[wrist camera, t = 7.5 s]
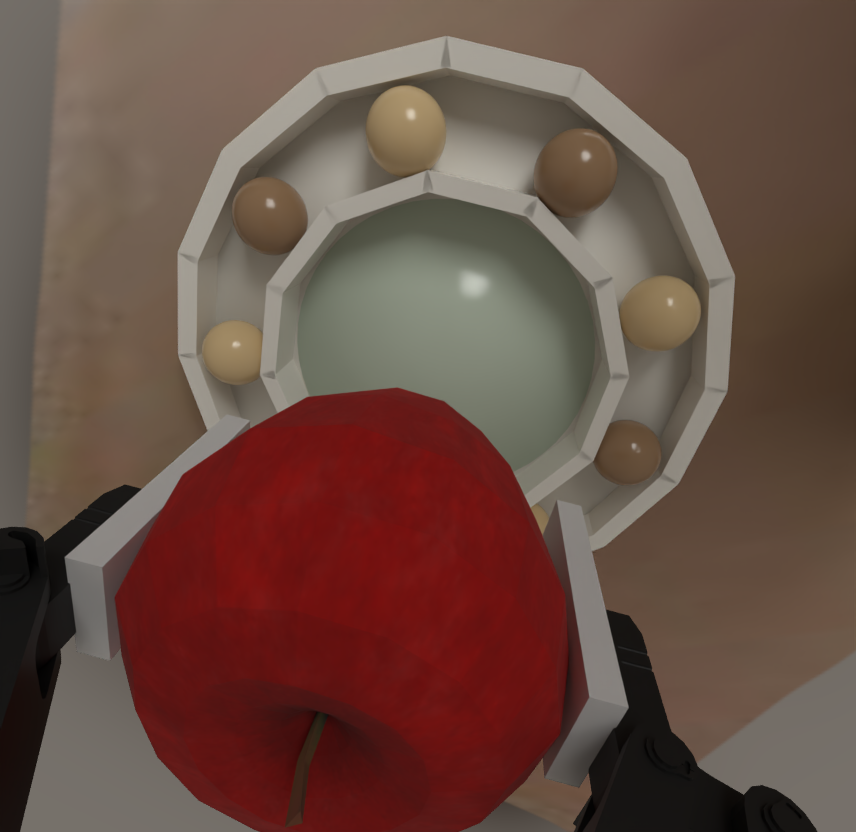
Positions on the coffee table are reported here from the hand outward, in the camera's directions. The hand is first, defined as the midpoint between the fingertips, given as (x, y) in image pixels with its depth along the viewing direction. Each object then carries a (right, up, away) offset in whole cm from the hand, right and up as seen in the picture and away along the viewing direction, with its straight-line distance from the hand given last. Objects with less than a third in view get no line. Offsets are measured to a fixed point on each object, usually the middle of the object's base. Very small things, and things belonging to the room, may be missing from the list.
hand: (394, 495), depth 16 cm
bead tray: (+2, +6, +12) cm, 14 cm away
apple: (0, +1, +2) cm, 2 cm away
